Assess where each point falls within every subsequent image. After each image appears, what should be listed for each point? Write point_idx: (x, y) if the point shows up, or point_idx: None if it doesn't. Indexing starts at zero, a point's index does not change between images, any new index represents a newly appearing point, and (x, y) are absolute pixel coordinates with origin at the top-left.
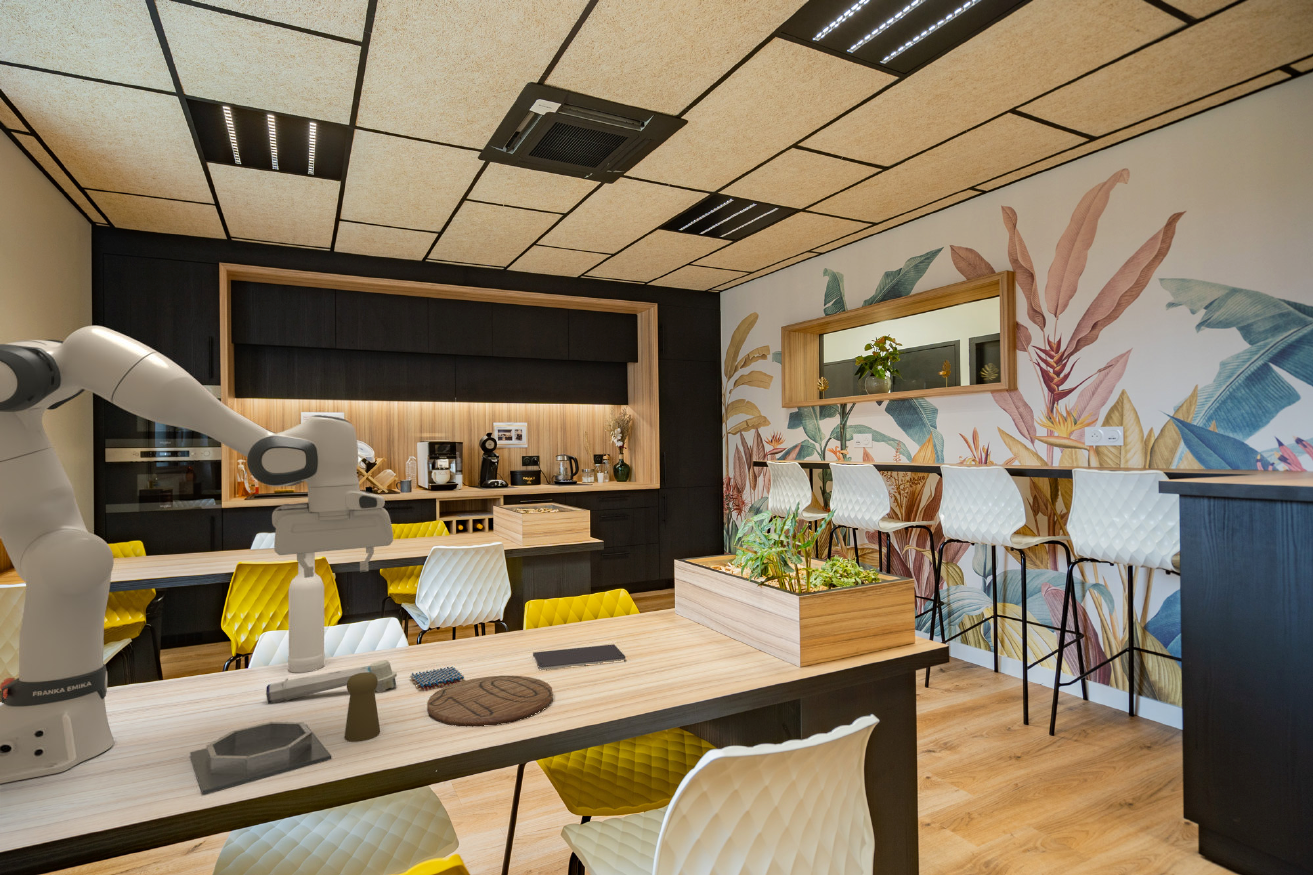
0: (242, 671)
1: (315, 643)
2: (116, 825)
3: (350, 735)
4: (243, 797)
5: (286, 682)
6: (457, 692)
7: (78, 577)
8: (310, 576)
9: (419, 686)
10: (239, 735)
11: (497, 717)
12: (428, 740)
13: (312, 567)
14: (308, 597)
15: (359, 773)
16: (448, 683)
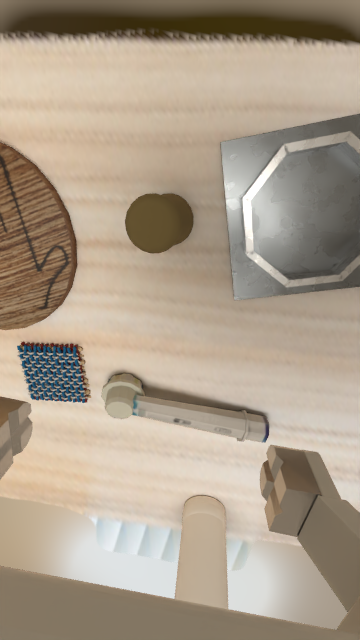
0: (273, 537)
1: (193, 532)
2: None
3: (186, 204)
4: (356, 54)
5: (244, 430)
6: (28, 285)
7: None
8: (284, 447)
9: (79, 359)
10: (331, 273)
11: None
12: (84, 133)
13: (284, 497)
14: None
15: (191, 47)
16: (41, 345)
